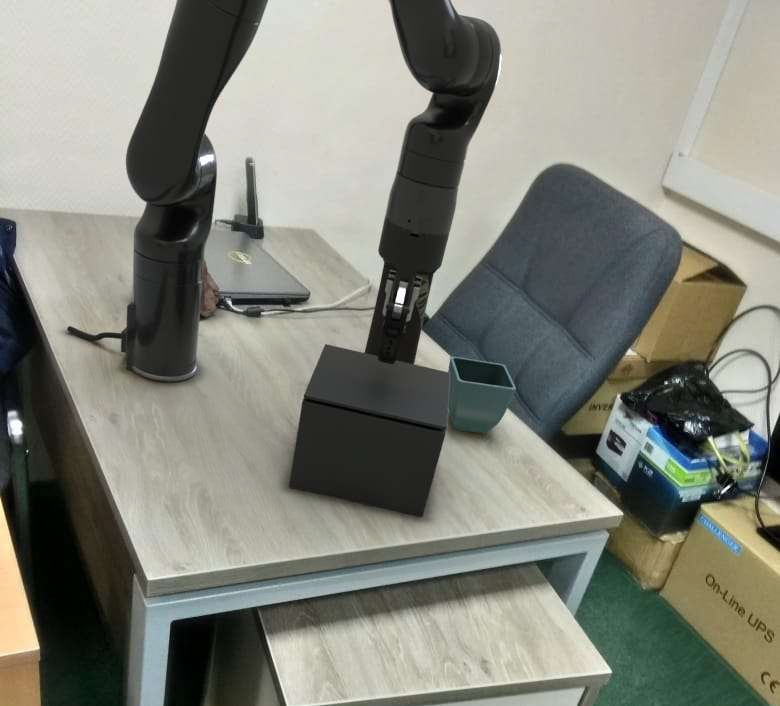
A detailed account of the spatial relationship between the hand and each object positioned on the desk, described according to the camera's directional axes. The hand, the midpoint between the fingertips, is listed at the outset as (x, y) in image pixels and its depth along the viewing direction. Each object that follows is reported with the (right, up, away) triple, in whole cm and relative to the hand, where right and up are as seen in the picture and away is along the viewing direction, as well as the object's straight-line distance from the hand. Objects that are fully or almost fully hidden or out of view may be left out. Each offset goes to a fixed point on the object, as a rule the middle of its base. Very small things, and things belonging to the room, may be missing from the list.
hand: (386, 360), depth 100 cm
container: (0, +5, +35) cm, 35 cm away
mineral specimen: (-37, +17, +38) cm, 55 cm away
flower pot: (+12, -5, +24) cm, 27 cm away
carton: (-3, -13, +6) cm, 15 cm away
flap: (0, -1, +3) cm, 3 cm away
